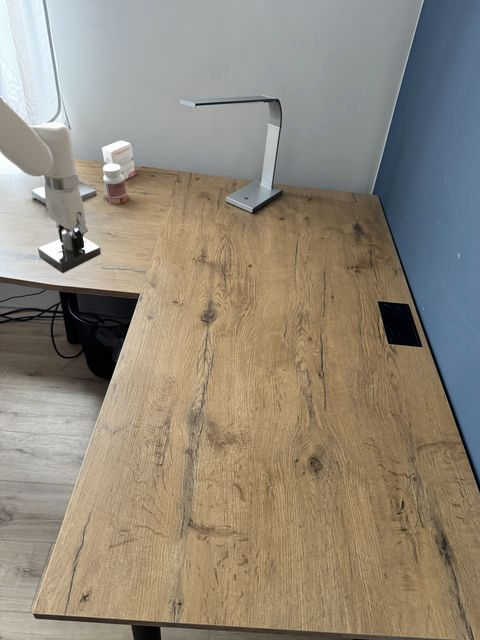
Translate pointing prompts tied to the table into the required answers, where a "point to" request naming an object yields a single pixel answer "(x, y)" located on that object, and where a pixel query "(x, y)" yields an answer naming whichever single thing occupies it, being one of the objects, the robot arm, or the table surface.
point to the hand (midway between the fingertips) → (72, 244)
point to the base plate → (67, 255)
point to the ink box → (120, 157)
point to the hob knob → (67, 238)
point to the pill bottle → (114, 184)
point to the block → (83, 188)
